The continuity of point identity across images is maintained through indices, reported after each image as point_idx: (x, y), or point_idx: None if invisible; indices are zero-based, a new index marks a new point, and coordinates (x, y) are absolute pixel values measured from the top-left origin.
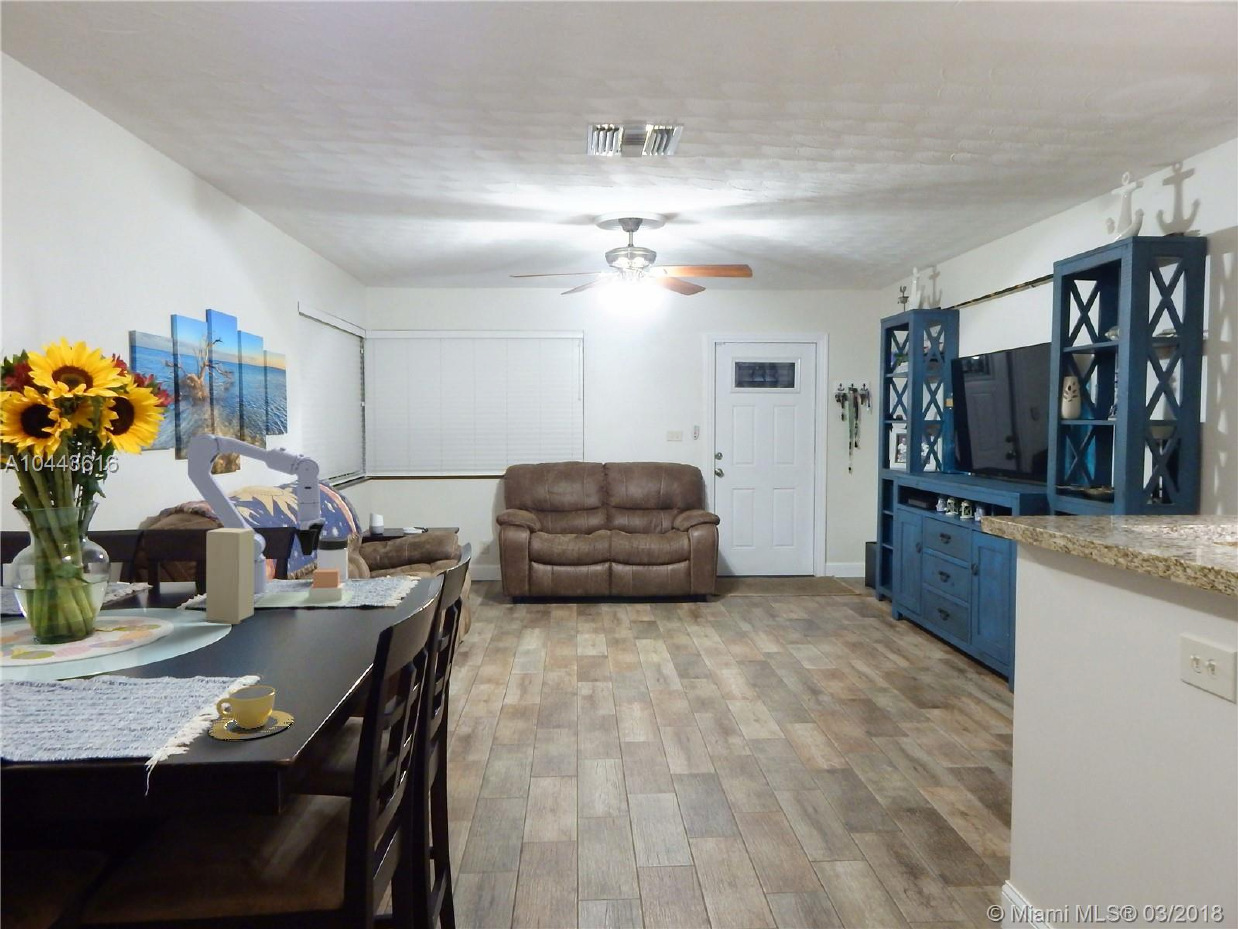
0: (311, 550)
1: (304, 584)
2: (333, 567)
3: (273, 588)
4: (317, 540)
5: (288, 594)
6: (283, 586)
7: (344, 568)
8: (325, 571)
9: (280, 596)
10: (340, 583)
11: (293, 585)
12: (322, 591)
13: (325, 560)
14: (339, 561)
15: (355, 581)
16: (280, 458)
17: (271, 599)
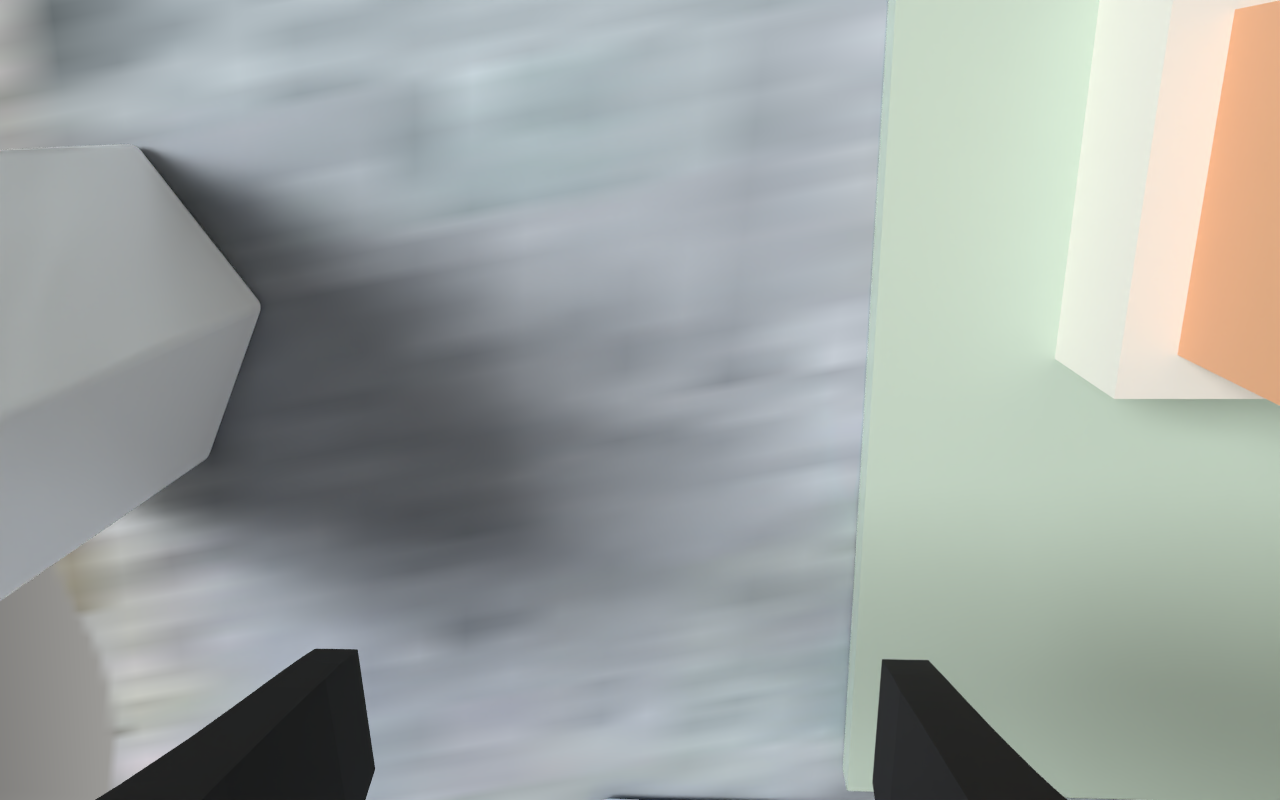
0: (974, 716)
1: (326, 560)
2: (130, 316)
3: (514, 785)
4: (249, 780)
5: (969, 609)
6: (425, 722)
7: (39, 171)
8: None
9: (1052, 662)
10: (1197, 13)
11: (377, 648)
12: None
13: (70, 460)
14: (7, 251)
15: (122, 23)
16: None
17: (1181, 713)
